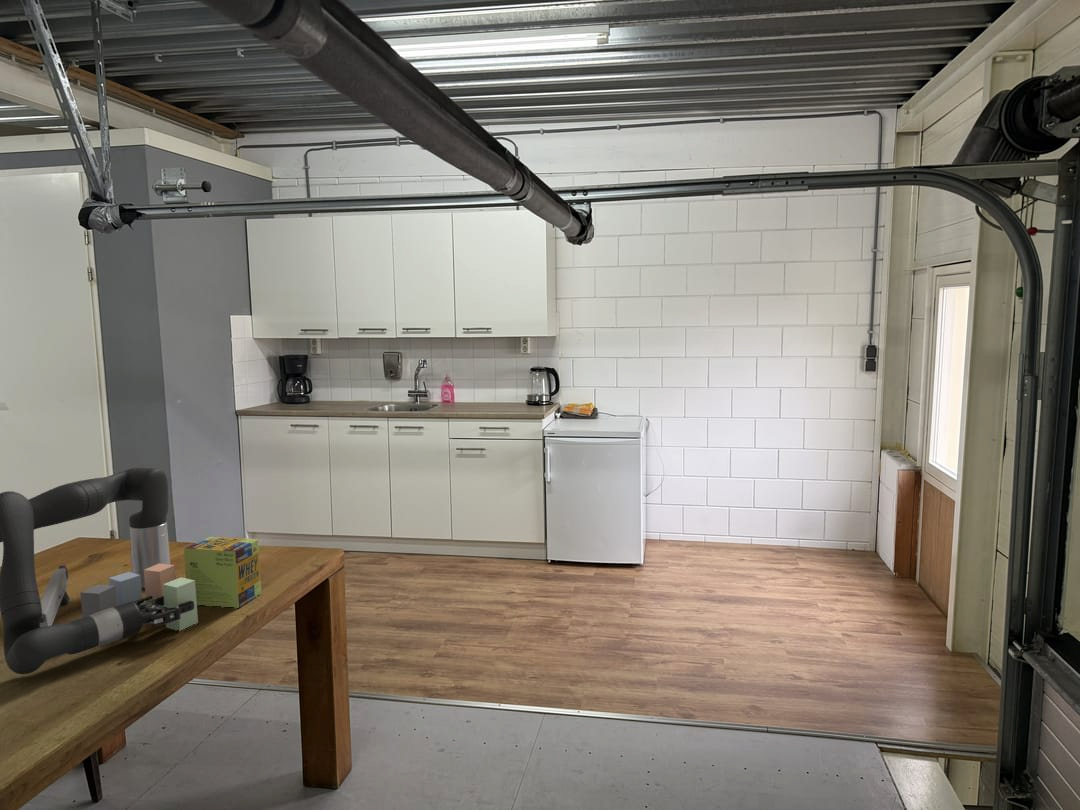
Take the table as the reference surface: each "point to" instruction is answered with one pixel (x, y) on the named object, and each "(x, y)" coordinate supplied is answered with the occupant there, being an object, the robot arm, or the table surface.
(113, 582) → the slate block
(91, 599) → the grey tall block
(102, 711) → the table surface
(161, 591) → the terracotta block
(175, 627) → the sage block
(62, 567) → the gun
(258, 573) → the protein box
